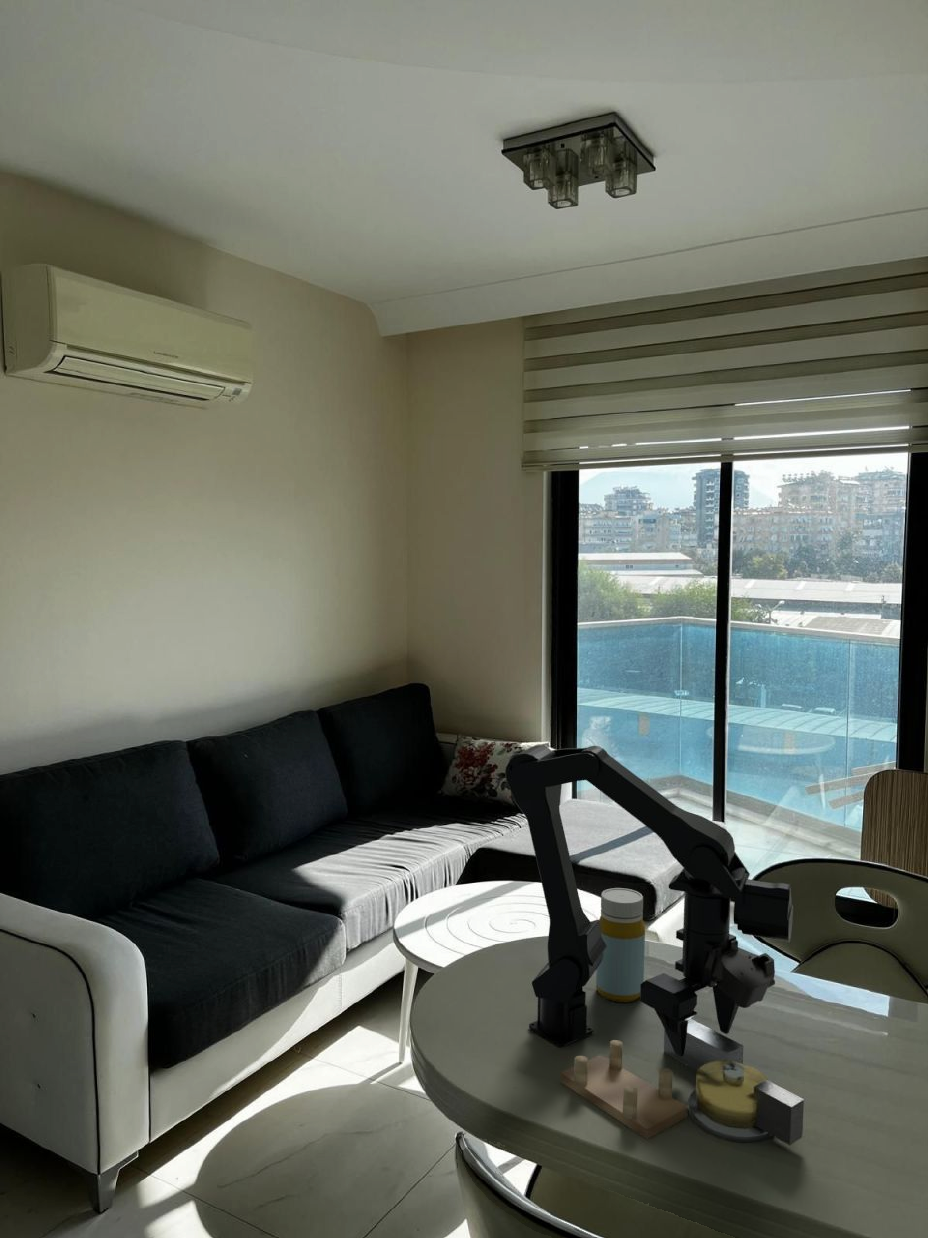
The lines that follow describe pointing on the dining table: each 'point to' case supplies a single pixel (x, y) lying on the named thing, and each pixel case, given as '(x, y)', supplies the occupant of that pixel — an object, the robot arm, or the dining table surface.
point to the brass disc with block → (749, 1102)
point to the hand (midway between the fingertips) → (702, 1043)
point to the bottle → (621, 945)
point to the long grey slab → (705, 1047)
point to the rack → (625, 1092)
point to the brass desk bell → (723, 1131)
